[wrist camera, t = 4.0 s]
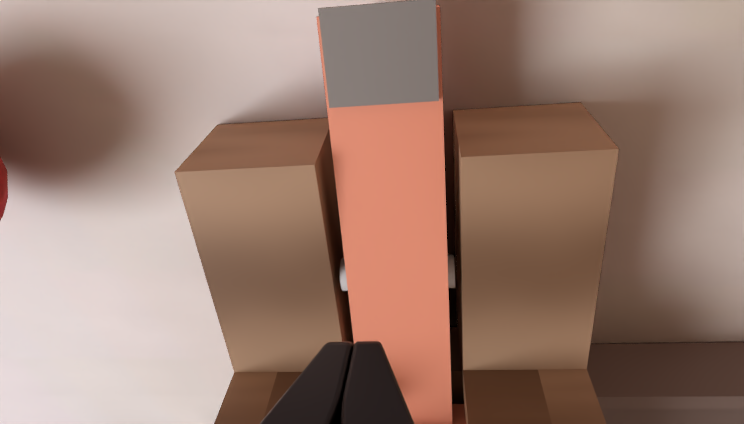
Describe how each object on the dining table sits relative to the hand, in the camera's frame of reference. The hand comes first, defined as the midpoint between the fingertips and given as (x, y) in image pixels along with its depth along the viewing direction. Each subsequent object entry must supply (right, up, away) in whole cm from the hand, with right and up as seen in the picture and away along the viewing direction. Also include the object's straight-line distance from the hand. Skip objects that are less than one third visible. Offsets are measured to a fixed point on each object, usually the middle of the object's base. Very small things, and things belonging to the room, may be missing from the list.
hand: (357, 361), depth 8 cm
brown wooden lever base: (+2, -3, +13) cm, 14 cm away
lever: (+1, -2, +9) cm, 10 cm away
